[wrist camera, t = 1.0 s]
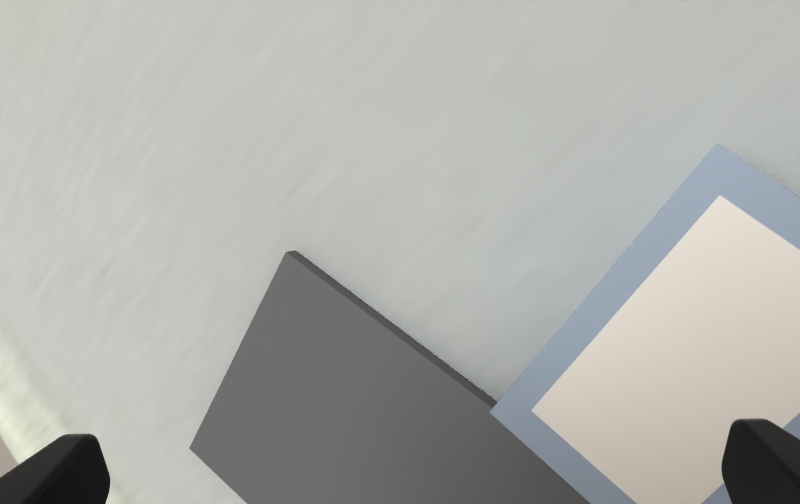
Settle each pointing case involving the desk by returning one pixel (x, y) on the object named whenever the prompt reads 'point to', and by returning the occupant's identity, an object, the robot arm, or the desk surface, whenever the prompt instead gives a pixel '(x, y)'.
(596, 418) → the card deck
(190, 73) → the desk surface
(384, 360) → the mat
